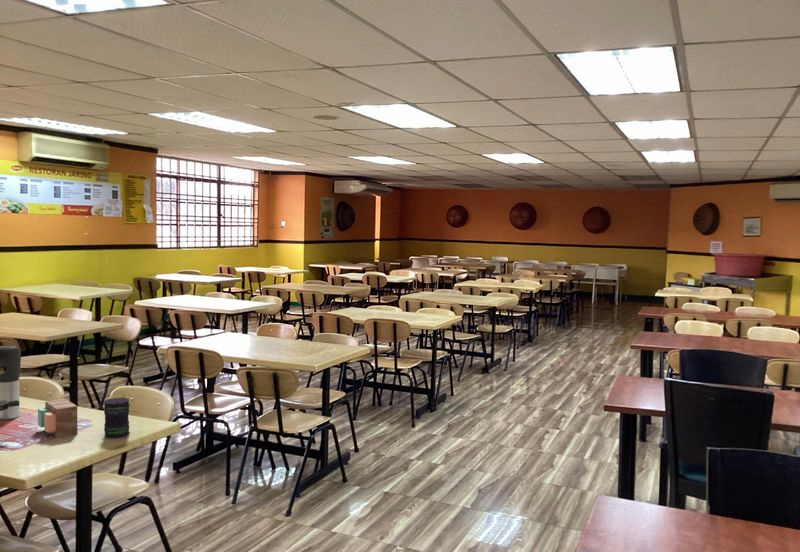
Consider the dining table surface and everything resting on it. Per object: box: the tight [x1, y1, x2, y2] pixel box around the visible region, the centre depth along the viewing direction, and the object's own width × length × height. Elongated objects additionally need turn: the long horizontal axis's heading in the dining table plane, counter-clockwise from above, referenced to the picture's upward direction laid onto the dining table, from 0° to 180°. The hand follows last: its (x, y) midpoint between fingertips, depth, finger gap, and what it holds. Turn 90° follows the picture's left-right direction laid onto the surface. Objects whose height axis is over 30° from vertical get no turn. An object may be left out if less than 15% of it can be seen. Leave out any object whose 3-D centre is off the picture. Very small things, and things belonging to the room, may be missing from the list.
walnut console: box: [44, 398, 79, 438], centre depth 279 cm, size 17×8×12 cm, turn 43°
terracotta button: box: [43, 412, 56, 433], centre depth 272 cm, size 5×6×7 cm
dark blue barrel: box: [103, 397, 130, 440], centre depth 275 cm, size 10×10×15 cm
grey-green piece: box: [37, 407, 50, 428], centre depth 279 cm, size 5×6×7 cm
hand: (18, 402), depth 271 cm, fingers closed
